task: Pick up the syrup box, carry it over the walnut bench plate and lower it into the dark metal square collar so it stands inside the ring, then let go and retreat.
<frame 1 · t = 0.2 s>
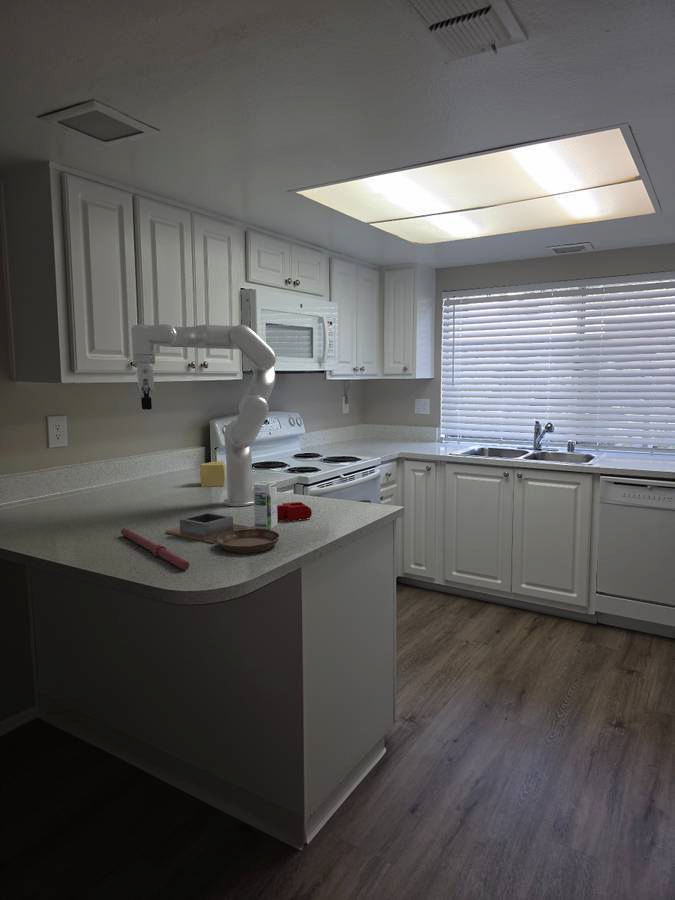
hand: (146, 408, 221), 37 cm above the countertop, tool pointing down, fingers open, 9 cm apart
syrup box: (266, 527, 198), on the countertop
cheese: (213, 485, 278), on the countertop
collar: (207, 533, 192), on the countertop
plant saucer: (248, 547, 177), on the countertop
rolling pin: (152, 553, 172), on the countertop
mechanical linkage: (286, 520, 209), on the countertop
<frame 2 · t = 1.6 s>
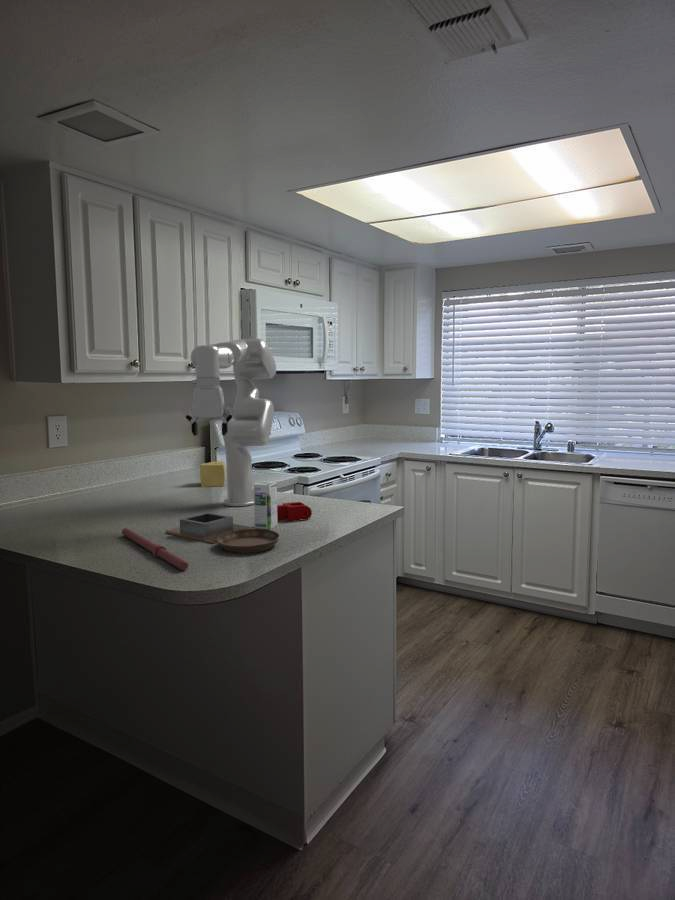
hand: (209, 435, 206), 29 cm above the countertop, tool pointing down, fingers open, 9 cm apart
nothing on the countertop moved.
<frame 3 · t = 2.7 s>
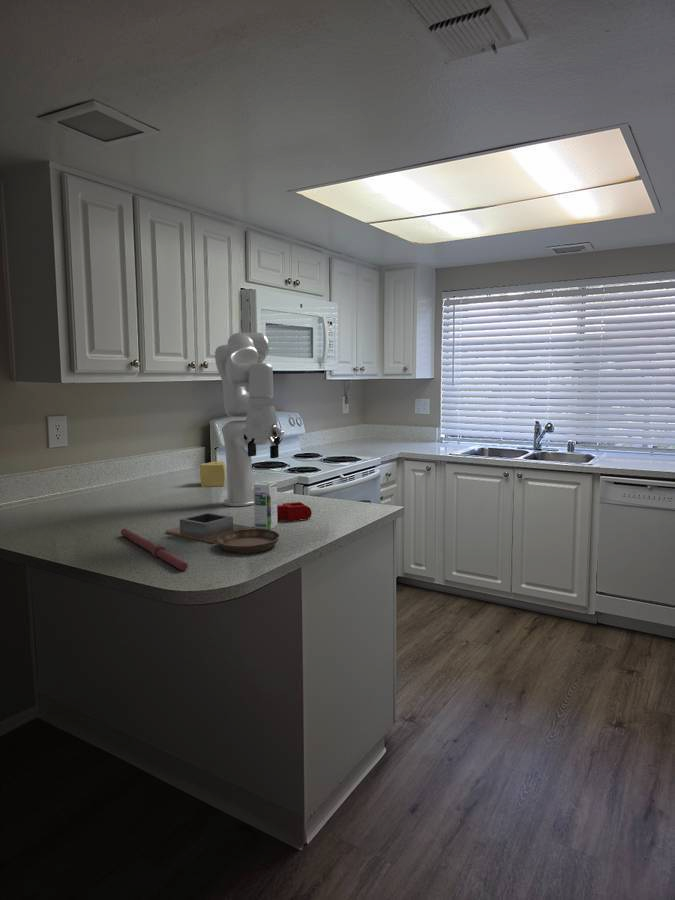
hand: (263, 457, 196), 23 cm above the countertop, tool pointing down, fingers open, 9 cm apart
nothing on the countertop moved.
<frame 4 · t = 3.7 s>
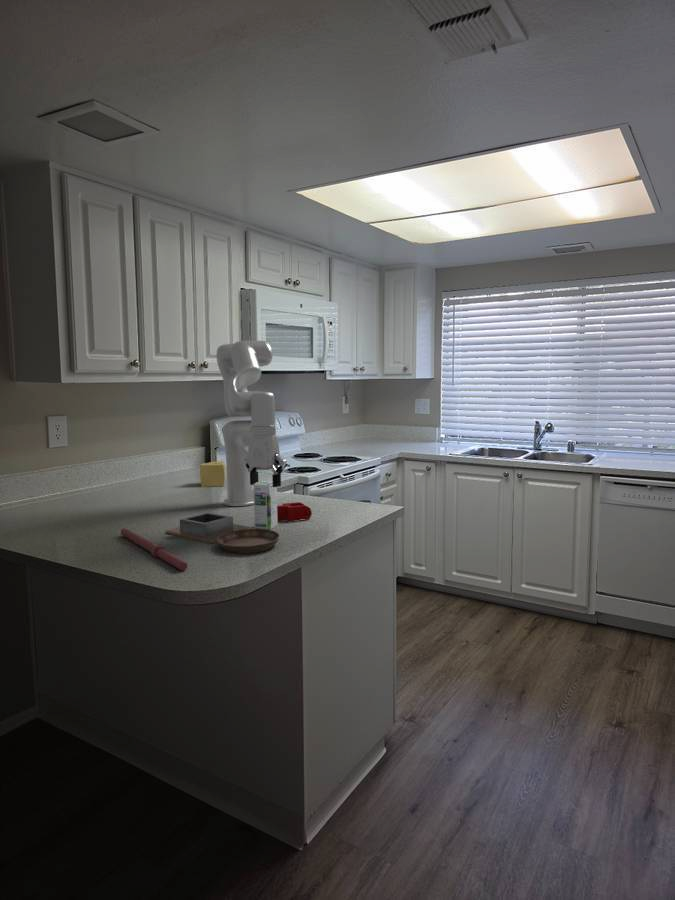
hand: (265, 485, 196), 14 cm above the countertop, tool pointing down, fingers open, 9 cm apart
nothing on the countertop moved.
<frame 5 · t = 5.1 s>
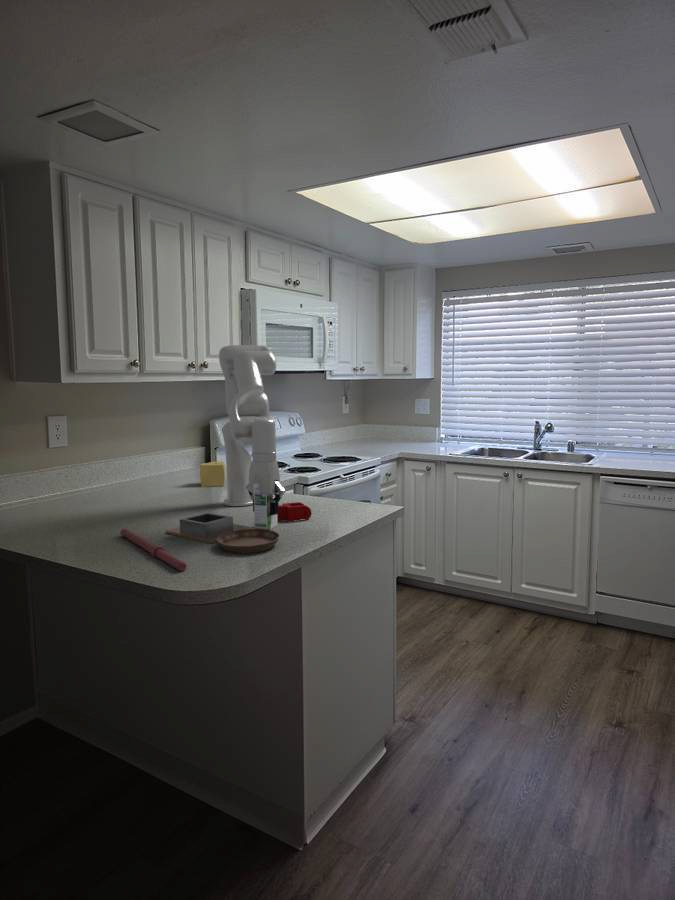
hand: (265, 512, 198), 5 cm above the countertop, tool pointing down, fingers closed on syrup box, 6 cm apart
syrup box: (266, 527, 198), on the countertop, touching gripper
everything else where it was.
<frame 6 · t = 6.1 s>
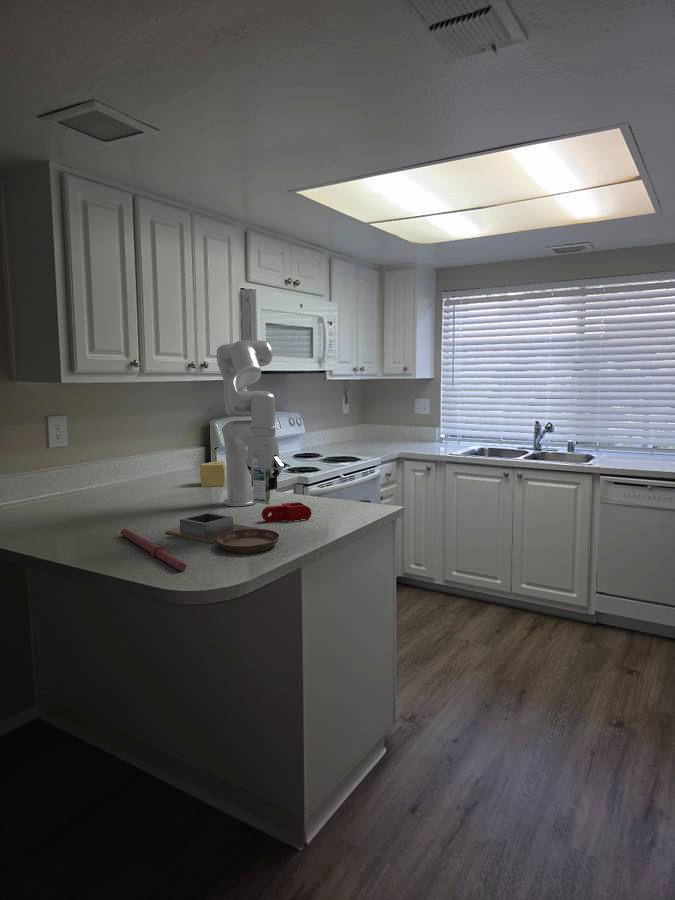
hand: (264, 487, 198), 13 cm above the countertop, tool pointing down, fingers closed on syrup box, 6 cm apart
syrup box: (264, 502, 199), point 8 cm above the countertop, touching gripper
everything else where it was.
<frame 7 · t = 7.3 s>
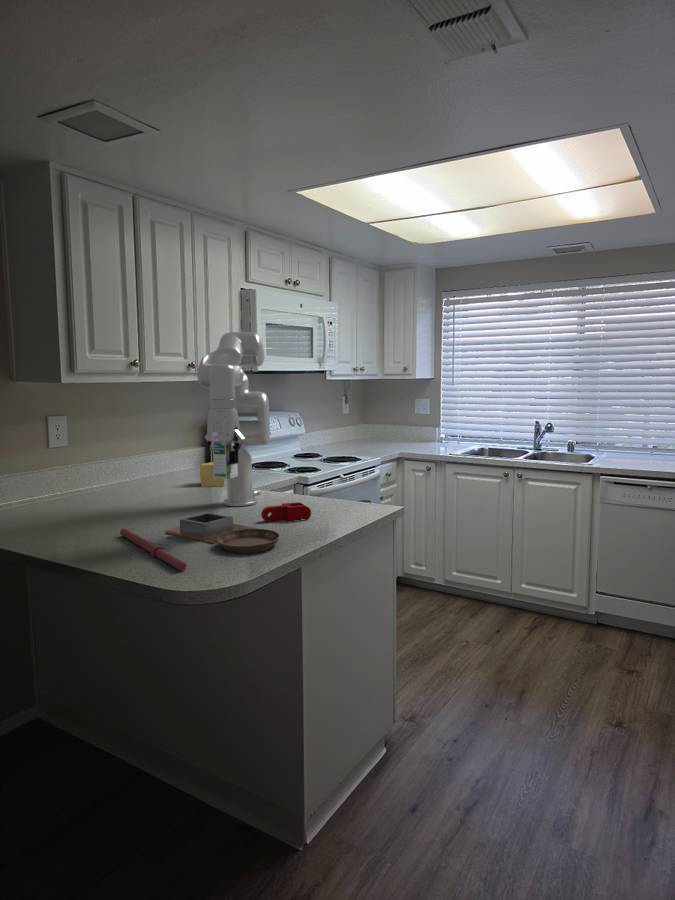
hand: (225, 462, 191), 22 cm above the countertop, tool pointing down, fingers closed on syrup box, 6 cm apart
syrup box: (225, 478, 192), point 17 cm above the countertop, touching gripper
everything else where it was.
when the fingers open (7 cm above the countertop, at t = 10.4 s): syrup box drops 1 cm, resting on collar.
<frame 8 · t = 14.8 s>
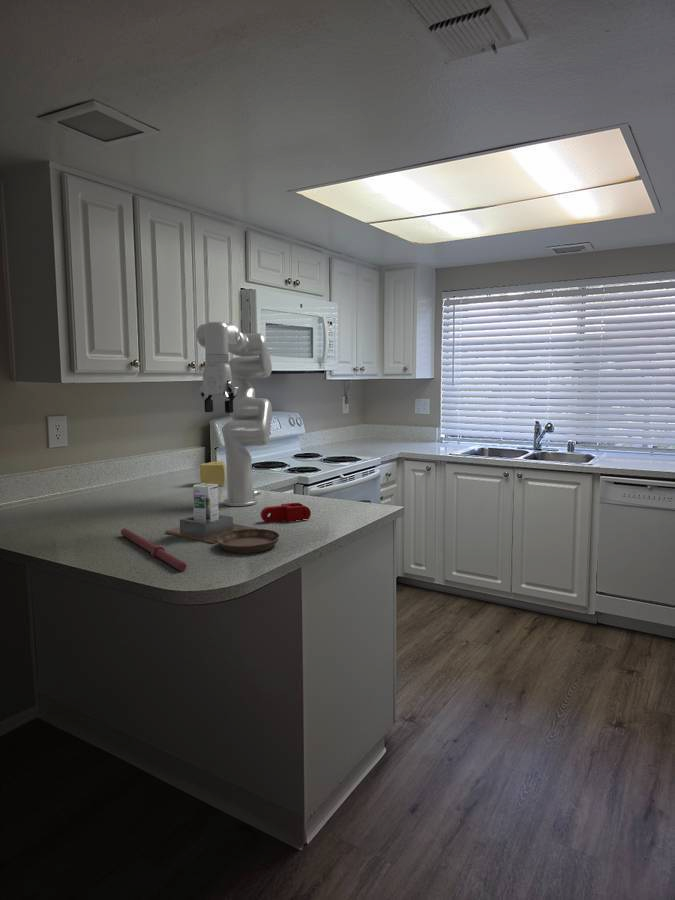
hand: (219, 412, 206), 36 cm above the countertop, tool pointing down, fingers open, 9 cm apart
syrup box: (206, 531, 192), point 1 cm above the countertop, touching collar
at the end: syrup box 0.1 cm off-centre on the collar, point 0.6 cm above the collar's base; syrup box tilted 0°; the gripper is holding nothing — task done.
